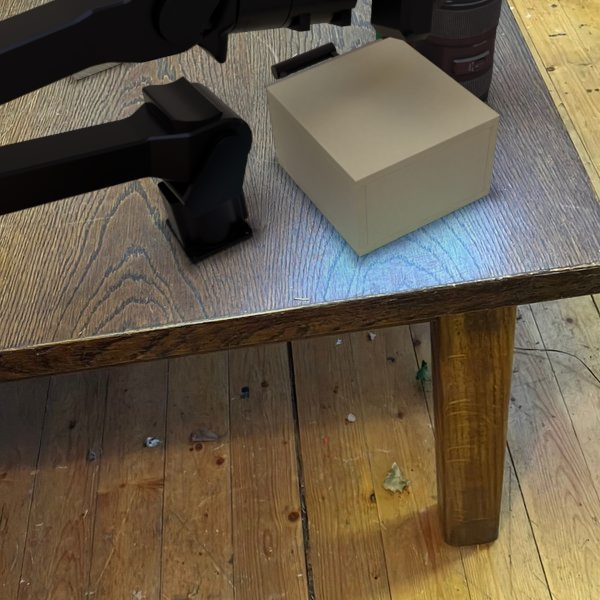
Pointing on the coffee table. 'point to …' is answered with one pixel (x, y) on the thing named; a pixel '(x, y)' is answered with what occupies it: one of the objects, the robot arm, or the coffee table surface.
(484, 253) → the coffee table surface
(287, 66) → the dark open box
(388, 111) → the tan cardboard box
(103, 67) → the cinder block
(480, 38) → the camera lens
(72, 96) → the coffee table surface
